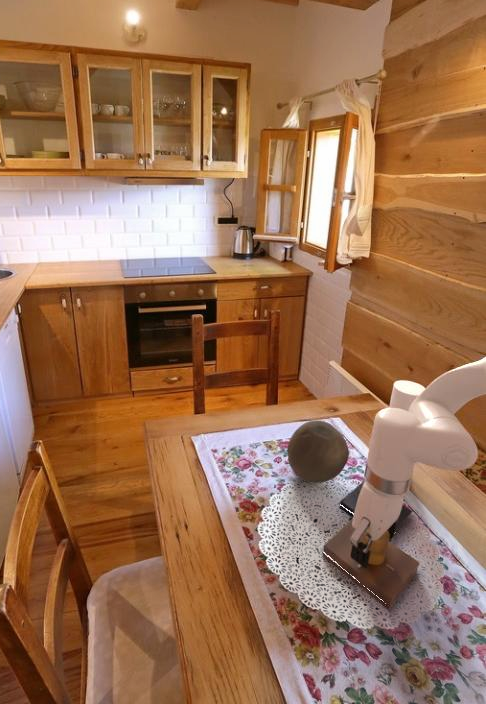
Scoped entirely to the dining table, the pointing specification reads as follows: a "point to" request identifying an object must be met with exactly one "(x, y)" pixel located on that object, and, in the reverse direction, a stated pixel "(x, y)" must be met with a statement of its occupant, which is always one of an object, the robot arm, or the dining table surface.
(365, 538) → the dial knob
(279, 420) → the dining table surface
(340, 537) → the knob panel
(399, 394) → the cylindrical container
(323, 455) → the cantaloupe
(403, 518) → the button box
